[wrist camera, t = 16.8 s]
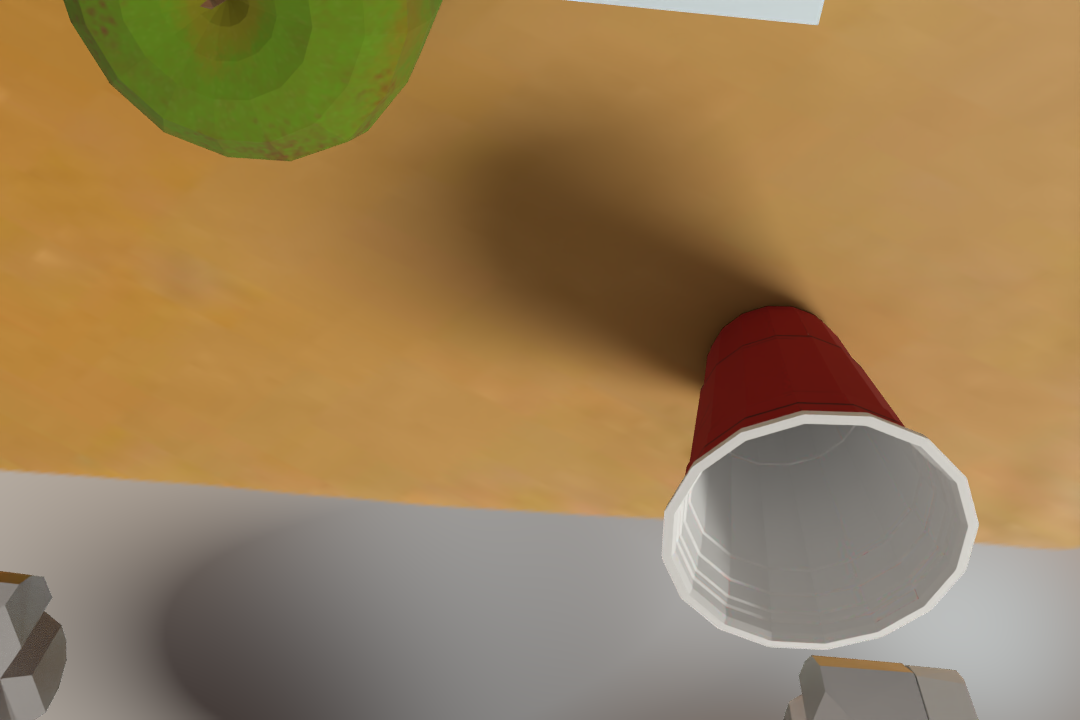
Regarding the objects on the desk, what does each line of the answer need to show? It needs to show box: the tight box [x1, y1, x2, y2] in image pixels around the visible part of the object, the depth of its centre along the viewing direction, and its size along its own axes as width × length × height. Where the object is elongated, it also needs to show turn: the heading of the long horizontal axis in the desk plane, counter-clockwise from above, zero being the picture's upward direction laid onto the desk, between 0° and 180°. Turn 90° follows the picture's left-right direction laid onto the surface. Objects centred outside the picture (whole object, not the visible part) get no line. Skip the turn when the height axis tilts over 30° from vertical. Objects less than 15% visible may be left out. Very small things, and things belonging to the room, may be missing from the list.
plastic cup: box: [662, 306, 979, 650], centre depth 38 cm, size 11×11×12 cm
